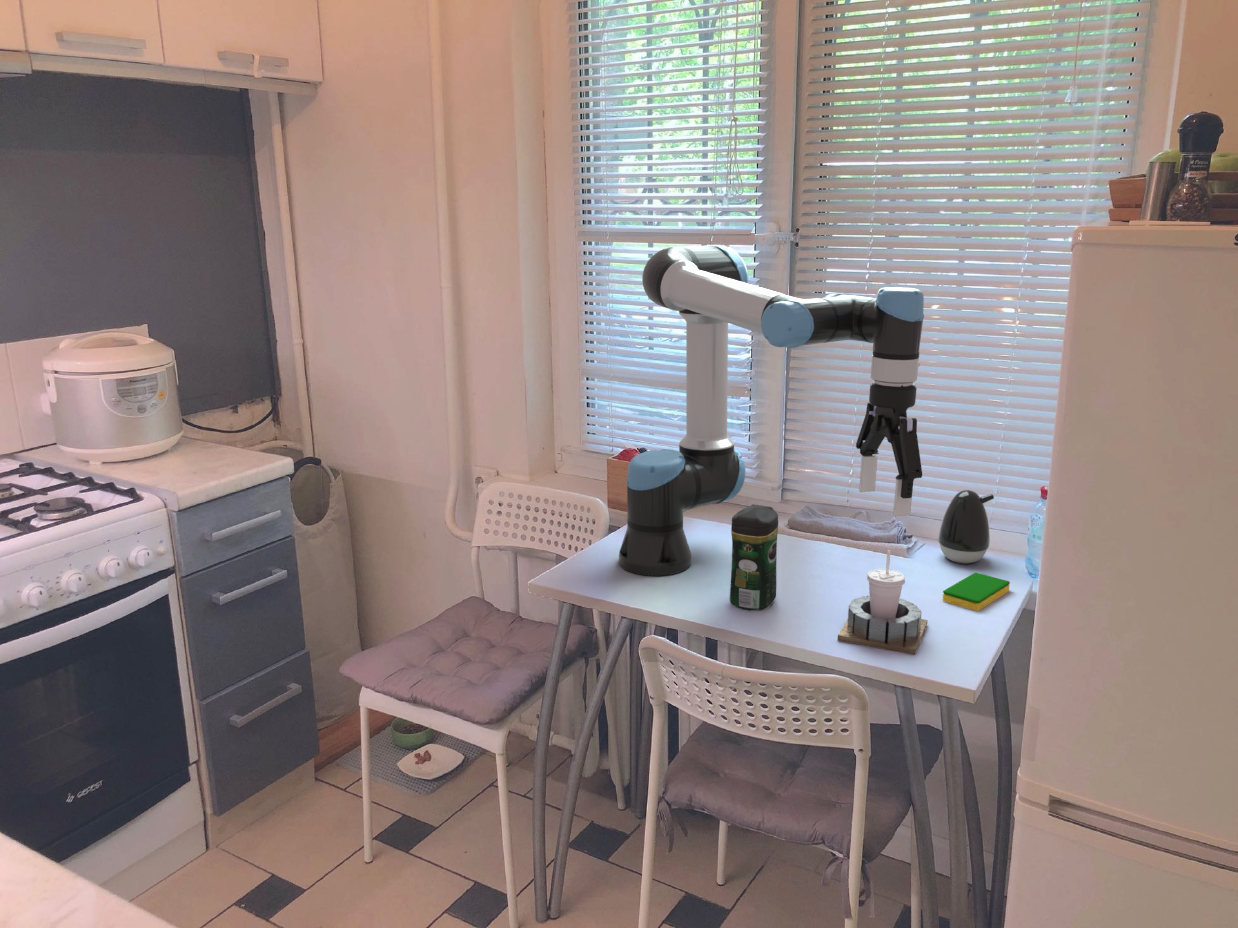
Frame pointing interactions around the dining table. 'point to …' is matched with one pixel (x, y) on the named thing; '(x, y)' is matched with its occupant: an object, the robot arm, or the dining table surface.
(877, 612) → the smoothie
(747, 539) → the coffee jar
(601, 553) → the dining table surface
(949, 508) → the pump dispenser
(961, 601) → the dish sponge
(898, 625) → the stone fire pit ring
